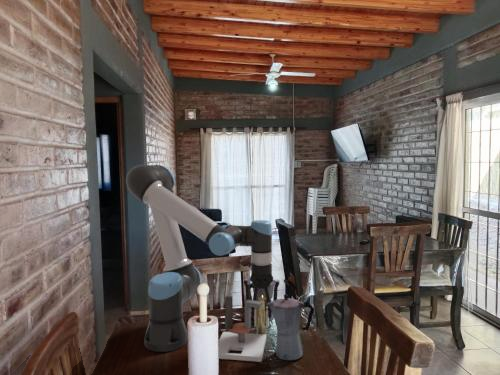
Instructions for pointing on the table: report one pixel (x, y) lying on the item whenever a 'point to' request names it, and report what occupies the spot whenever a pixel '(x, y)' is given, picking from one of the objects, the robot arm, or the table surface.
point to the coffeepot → (261, 292)
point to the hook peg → (261, 316)
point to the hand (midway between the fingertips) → (261, 325)
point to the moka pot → (289, 326)
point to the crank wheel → (239, 327)
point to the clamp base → (242, 346)
